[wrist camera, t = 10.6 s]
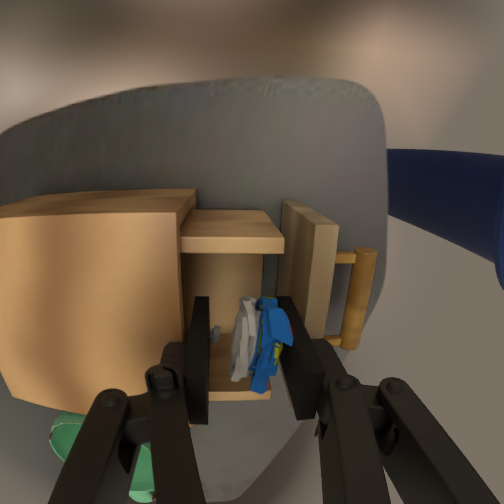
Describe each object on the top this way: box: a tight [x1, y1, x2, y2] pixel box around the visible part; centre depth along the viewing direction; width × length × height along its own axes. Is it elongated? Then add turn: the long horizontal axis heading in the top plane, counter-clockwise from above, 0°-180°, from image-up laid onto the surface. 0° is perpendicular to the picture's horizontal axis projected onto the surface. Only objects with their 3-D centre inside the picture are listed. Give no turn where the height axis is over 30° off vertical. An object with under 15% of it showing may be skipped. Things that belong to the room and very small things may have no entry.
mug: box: [49, 410, 155, 503], centre depth 22 cm, size 15×10×10 cm
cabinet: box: [0, 189, 196, 427], centre depth 18 cm, size 14×13×10 cm
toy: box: [208, 295, 293, 395], centre depth 14 cm, size 5×4×5 cm
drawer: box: [179, 200, 377, 407], centre depth 19 cm, size 17×11×8 cm
